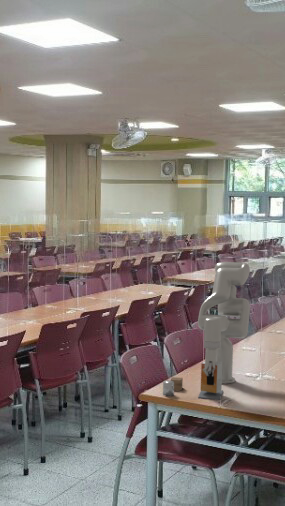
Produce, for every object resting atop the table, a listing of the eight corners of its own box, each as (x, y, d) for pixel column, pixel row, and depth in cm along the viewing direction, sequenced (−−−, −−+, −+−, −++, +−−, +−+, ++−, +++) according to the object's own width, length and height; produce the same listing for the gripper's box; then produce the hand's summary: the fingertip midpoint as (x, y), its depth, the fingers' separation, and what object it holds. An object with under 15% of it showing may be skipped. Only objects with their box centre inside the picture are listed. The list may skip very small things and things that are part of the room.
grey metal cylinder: (163, 392, 301) (164, 380, 300) (174, 393, 300) (174, 380, 299) (162, 395, 296) (162, 382, 295) (172, 396, 295) (173, 383, 294)
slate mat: (201, 390, 307) (201, 388, 307) (223, 391, 305) (223, 390, 304) (198, 398, 293) (198, 396, 293) (220, 399, 291) (220, 398, 291)
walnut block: (172, 387, 311) (172, 376, 311) (182, 387, 310) (182, 377, 310) (170, 389, 306) (170, 379, 306) (180, 390, 305) (181, 380, 305)
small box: (200, 390, 298) (200, 363, 297) (205, 387, 303) (206, 360, 303) (216, 393, 294) (217, 365, 293) (221, 390, 300) (222, 362, 299)
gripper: (206, 340, 307) (205, 377, 308) (201, 347, 290) (200, 386, 291) (222, 341, 305) (221, 378, 306) (218, 349, 288) (217, 388, 289)
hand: (211, 382), depth 299 cm, fingers closed on small box, 7 cm apart
